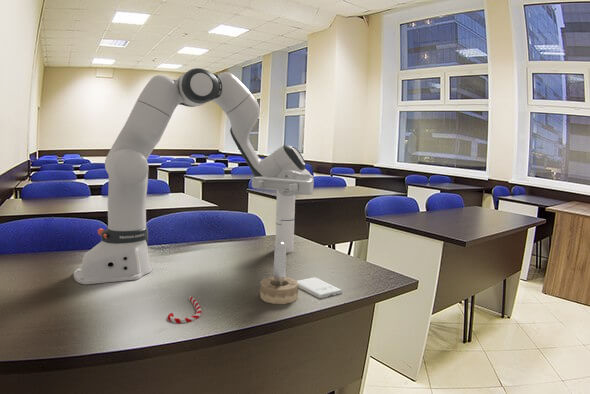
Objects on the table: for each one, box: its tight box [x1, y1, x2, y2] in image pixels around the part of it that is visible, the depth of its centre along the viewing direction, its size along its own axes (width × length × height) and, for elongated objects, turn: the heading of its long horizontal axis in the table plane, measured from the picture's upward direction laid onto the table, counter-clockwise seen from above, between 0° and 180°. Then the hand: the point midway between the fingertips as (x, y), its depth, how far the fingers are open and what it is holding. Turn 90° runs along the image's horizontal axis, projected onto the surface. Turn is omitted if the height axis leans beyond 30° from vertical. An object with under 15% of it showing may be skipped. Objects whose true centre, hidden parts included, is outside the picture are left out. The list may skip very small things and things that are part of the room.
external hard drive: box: [296, 277, 343, 299], centre depth 123 cm, size 2×8×12 cm
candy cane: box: [167, 296, 202, 324], centre depth 105 cm, size 8×1×15 cm
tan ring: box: [260, 276, 299, 305], centre depth 116 cm, size 10×10×4 cm
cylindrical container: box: [274, 190, 296, 254], centre depth 163 cm, size 7×7×25 cm
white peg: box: [273, 242, 287, 286], centre depth 115 cm, size 3×3×16 cm
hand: (273, 186), depth 129 cm, fingers open, 8 cm apart
